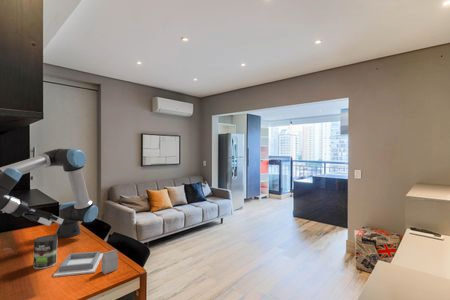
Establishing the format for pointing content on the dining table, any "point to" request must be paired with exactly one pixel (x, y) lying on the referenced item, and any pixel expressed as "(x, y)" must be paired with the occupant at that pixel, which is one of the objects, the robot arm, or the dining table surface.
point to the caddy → (79, 264)
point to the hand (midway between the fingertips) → (56, 222)
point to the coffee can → (45, 252)
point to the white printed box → (109, 261)
